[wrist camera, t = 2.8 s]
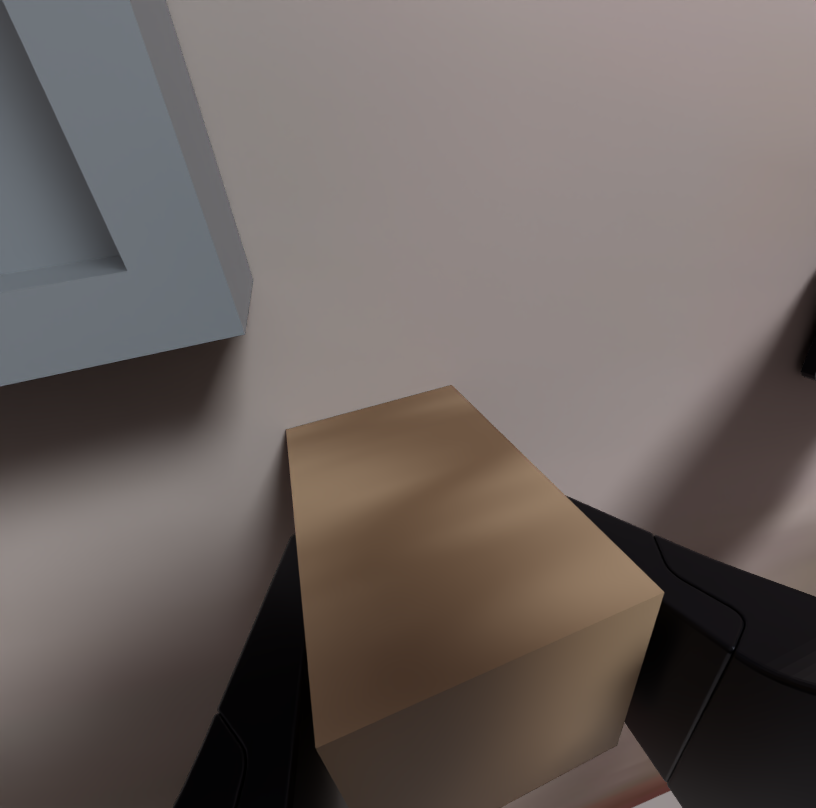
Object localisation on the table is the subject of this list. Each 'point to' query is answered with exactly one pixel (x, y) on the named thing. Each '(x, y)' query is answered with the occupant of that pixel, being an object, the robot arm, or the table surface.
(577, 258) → the table surface
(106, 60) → the bin
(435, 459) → the block
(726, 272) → the table surface
